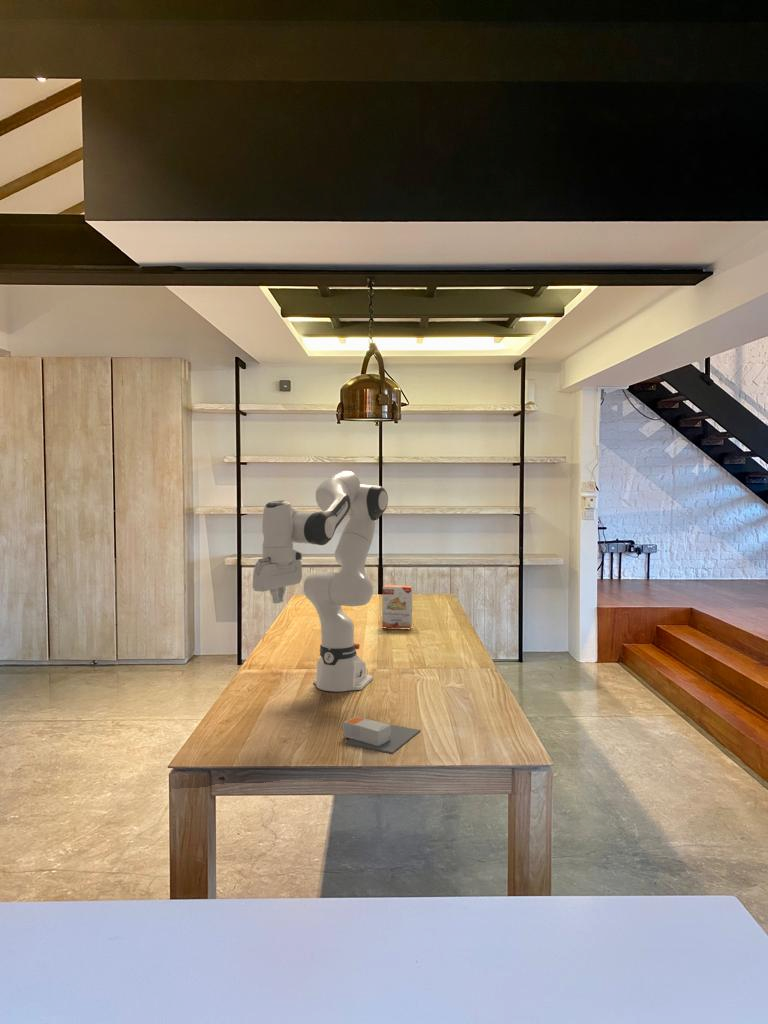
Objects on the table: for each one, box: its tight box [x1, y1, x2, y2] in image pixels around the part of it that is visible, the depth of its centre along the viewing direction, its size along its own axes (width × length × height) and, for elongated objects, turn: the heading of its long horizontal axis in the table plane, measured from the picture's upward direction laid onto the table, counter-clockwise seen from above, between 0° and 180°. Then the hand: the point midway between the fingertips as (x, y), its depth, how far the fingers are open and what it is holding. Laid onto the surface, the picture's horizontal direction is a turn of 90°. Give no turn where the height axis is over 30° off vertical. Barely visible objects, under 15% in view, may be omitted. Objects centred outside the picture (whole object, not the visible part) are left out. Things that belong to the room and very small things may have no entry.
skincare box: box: [342, 715, 392, 746], centre depth 182 cm, size 6×4×12 cm
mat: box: [344, 724, 421, 754], centre depth 184 cm, size 18×14×1 cm
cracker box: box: [381, 584, 413, 629], centre depth 329 cm, size 14×6×21 cm, turn 81°
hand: (277, 602), depth 199 cm, fingers closed
